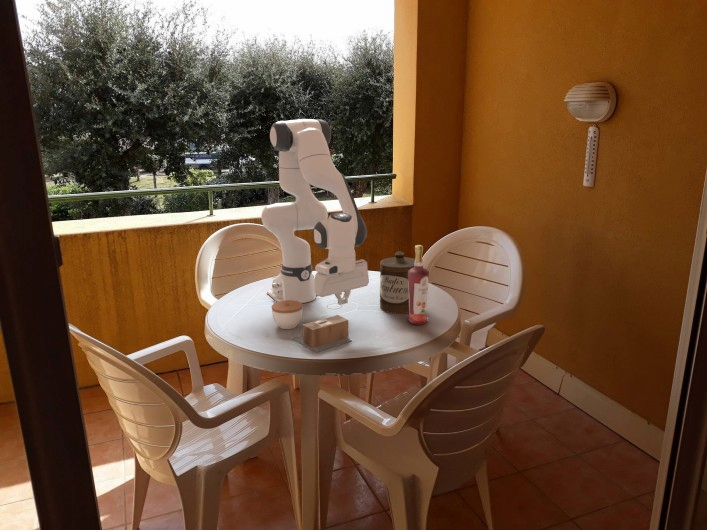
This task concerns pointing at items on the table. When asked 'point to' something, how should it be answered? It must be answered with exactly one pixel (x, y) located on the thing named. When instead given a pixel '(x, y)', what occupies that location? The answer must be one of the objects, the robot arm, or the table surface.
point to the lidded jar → (287, 313)
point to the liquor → (418, 289)
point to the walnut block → (325, 331)
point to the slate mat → (322, 347)
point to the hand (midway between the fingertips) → (342, 303)
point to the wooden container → (395, 283)
